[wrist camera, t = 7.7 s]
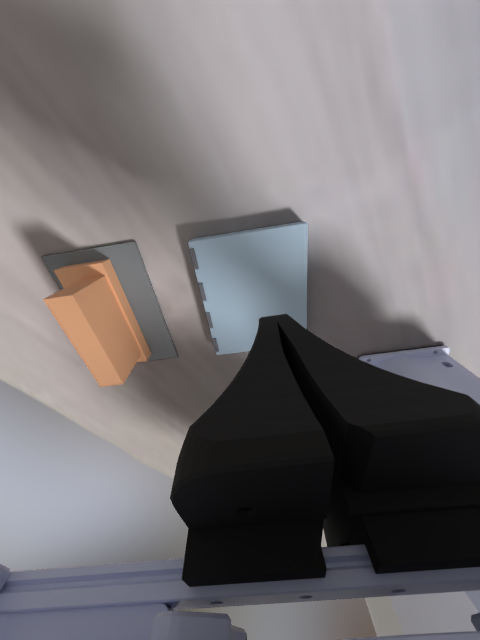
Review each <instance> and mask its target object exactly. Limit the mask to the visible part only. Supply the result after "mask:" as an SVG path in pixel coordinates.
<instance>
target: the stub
mask: <svg viewBox="0 0 480 640" xmlns="http://www.w3.org/2000/svg"><path fill="white" fill-rule="evenodd" d="M53 271H54V272H55V274H56V276H57V277H58V279H59V281H60V283H61V284H62V286H63V288H64V289H62V290H60V291H58V292H56V293H54V294H53V295H51V296H49V297H47V298H45V299H43V300H44V302H45V303H46V305H47V306H48V308H49V309H50V311H51V312H52V314H53V315H54V317H55V318H56V320H57V322H58V323H59V325H60V326H61V328H62V329H63V331H64V332H65V334H66V335H67V337H68V338H69V340H70V341H71V343H72V344H73V346H74V347H75V349H76V350H77V352H78V354H79V355H80V357H81V358H82V360H83V361H84V363H85V364H86V366H87V367H88V369H89V370H90V372H91V373H92V375H93V376H94V378H95V379H96V381H97V382H98V384H99V386H100V387H103V386H111V385H119V384H124V382H125V381H126V379H127V377H128V376H129V374H130V372H131V371H132V369H133V367H134V366H135V364H136V362H143V361H148V359H149V357H150V355H151V352H150V349H149V347H148V345H147V342H146V340H145V338H144V336H143V333H142V331H141V329H140V327H139V324H138V322H137V320H136V318H135V315H134V313H133V311H132V309H131V306H130V304H129V302H128V300H127V297H126V295H125V293H124V291H123V288H122V286H121V284H120V282H119V279H118V277H117V275H116V273H115V270H114V268H113V266H112V264H111V261H110V259H107V260H101V261H94V262H88V263H82V264H75V265H69V266H63V267H61V268H58V269H56V270H53Z"/></svg>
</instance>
